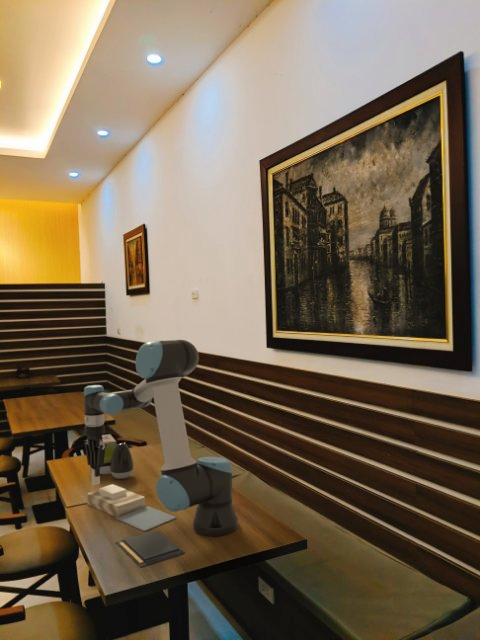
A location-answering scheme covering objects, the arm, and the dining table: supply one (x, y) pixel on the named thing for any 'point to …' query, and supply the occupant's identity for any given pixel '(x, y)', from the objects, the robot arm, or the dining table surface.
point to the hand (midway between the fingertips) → (95, 484)
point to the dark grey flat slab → (149, 548)
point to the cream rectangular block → (112, 491)
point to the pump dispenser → (121, 462)
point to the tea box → (108, 453)
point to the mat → (146, 518)
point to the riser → (116, 503)
